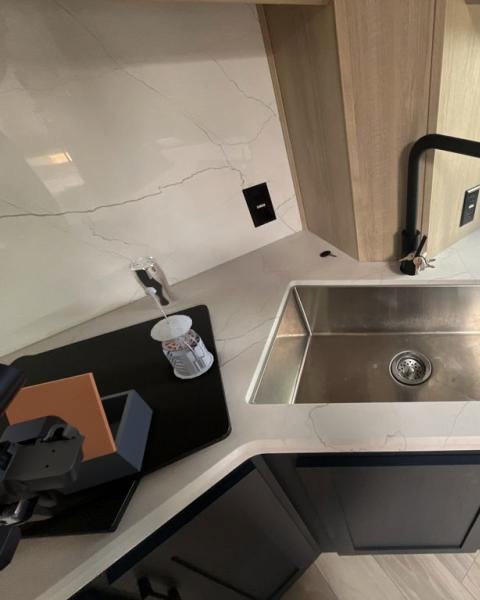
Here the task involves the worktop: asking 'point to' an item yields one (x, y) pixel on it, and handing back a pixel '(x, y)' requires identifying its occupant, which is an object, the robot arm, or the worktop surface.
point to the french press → (181, 344)
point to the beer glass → (153, 280)
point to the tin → (117, 442)
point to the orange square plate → (68, 410)
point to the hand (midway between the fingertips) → (51, 510)
